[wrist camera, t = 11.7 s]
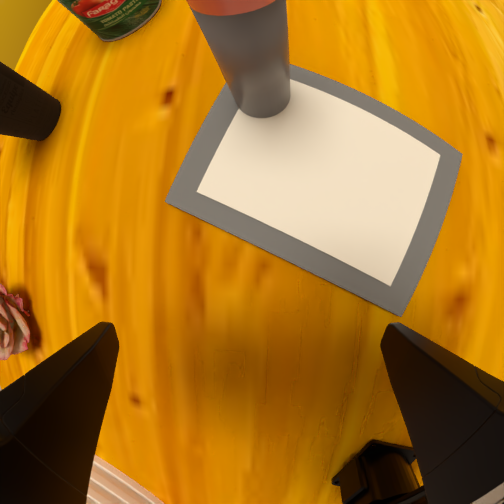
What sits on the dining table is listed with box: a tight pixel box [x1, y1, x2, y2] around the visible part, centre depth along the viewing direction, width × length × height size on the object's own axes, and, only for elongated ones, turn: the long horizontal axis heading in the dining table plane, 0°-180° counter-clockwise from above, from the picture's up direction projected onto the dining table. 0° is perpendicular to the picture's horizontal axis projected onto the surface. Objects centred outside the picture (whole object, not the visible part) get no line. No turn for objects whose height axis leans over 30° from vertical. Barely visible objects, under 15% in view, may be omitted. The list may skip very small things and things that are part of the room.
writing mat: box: [165, 64, 462, 317], centre depth 17 cm, size 18×13×1 cm
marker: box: [187, 0, 290, 118], centre depth 10 cm, size 4×4×13 cm
